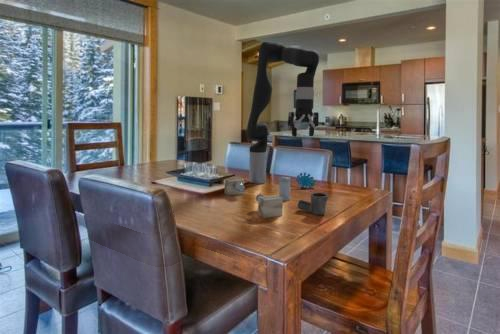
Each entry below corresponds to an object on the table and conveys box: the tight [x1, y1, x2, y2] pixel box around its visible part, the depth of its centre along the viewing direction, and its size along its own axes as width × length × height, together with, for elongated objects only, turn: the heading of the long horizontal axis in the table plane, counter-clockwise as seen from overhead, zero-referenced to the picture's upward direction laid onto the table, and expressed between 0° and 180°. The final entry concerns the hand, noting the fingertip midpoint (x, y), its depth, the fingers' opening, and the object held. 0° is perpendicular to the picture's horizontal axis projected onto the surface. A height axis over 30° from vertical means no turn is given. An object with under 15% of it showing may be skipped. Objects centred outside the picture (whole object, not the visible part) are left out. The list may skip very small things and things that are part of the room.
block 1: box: [224, 177, 245, 196], centre depth 171 cm, size 5×8×7 cm, turn 114°
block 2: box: [257, 194, 284, 219], centre depth 137 cm, size 5×8×7 cm, turn 114°
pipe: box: [297, 192, 329, 216], centre depth 140 cm, size 6×13×8 cm, turn 51°
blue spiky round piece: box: [296, 172, 317, 190], centre depth 187 cm, size 11×6×10 cm
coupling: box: [278, 176, 292, 202], centre depth 160 cm, size 5×5×10 cm
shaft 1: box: [233, 182, 246, 193], centre depth 165 cm, size 7×4×4 cm, turn 24°
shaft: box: [255, 193, 265, 203], centre depth 142 cm, size 7×4×4 cm, turn 24°
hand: (302, 136), depth 153 cm, fingers open, 8 cm apart
